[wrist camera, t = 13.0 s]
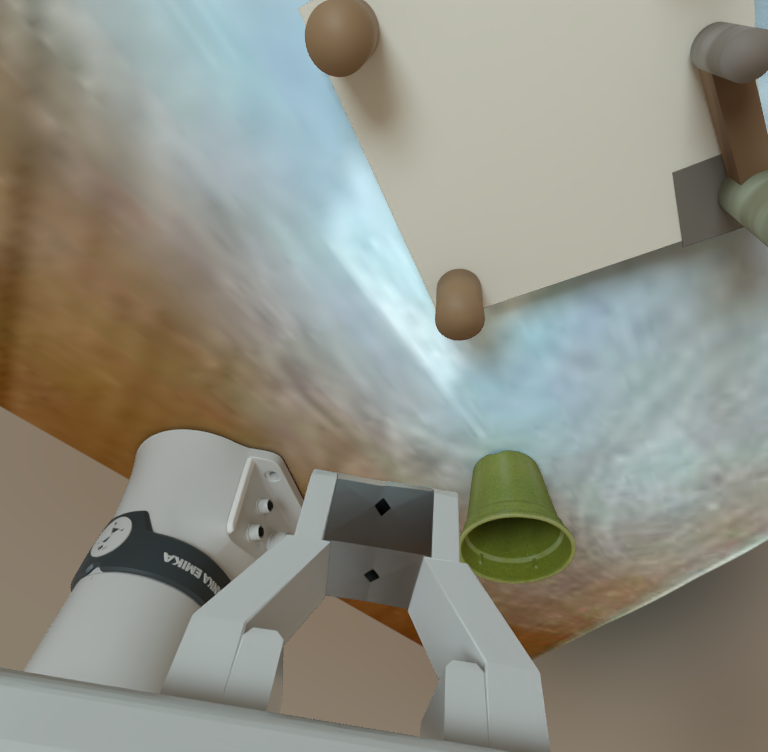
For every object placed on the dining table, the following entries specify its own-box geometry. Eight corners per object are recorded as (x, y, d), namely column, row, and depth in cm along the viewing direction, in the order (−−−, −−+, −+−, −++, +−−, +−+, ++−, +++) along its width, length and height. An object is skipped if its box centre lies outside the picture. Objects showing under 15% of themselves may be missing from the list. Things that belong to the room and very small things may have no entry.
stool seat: (752, 201, 32) (809, 244, 27) (444, 308, 39) (443, 359, 34) (725, -247, 22) (811, -315, 17) (308, 6, 28) (277, 13, 23)
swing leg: (742, 4, 24) (807, 11, 20) (783, 196, 29) (843, 236, 25) (674, 45, 26) (721, 60, 21) (725, 223, 30) (772, 266, 26)
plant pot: (480, 423, 46) (486, 502, 39) (577, 453, 47) (599, 536, 40) (440, 487, 51) (439, 566, 45) (527, 513, 52) (539, 594, 46)
